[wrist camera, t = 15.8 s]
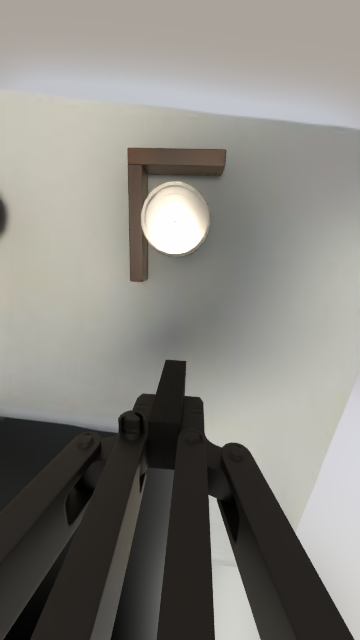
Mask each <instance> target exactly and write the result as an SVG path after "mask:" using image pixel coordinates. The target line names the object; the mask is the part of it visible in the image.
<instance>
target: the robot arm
mask: <svg viewBox="0 0 360 640" xmlns="http://www.w3.org/2000/svg"><path fill="white" fill-rule="evenodd" d="M185 377H186V361H177V360H166V361H165V365H164V368H163V371H162V375H161V378H160V382H159V385H158V389H157V392H156V395H155V394H142V395H140V396H139V397H138V398H137V400H136V403H135V405H134V408H133V410H132V411H127V412H125V413H123V414H121V415H120V417H119V418H118V422H119V434H118V435H116V436H114V437H109V438H103V439H101V437H100V436H99V434H97V433H96V432H84V433H82V434H79V435H78V436H76V437H75V438H74V439H73V440H72V441H71V442H70V443H69V444H68V445H67V446H66V447H65V448H64V449H63V450H62V451H61V452H60V453H59V454H58V455H57V456H56V457H55V458H54V459H53V460H52V461H51V462H50V463H49V464H48V465H47V466H46V467H45V468H44V469H43V470H42V471H41V472H40V473H39V474H38V475H37V476H36V477H35V478H34V479H33V480H32V481H31V482H30V483H29V484H28V485H27V486H26V487H25V488H24V489H23V490H22V491H21V492H20V493H19V494H18V495H17V496H16V497H15V498H14V499H13V500H12V501H11V502H10V503H9V504H8V505H7V506H6V507H5V508H4V509H3V510H2V511H1V512H0V640H3V639H4V637H5V636H6V634H7V633H8V631H9V630H10V628H11V627H12V625H13V624H14V622H15V621H16V619H17V618H18V616H19V615H20V613H21V612H22V610H23V609H24V607H25V606H26V604H27V603H28V601H29V600H30V598H31V597H32V595H33V593H34V592H35V591H36V589H37V587H38V586H39V584H40V583H41V581H42V580H43V578H44V577H45V575H46V574H47V572H48V571H49V569H50V568H51V566H52V565H53V563H54V562H55V560H56V559H57V557H58V556H59V554H60V553H61V551H62V550H63V548H64V547H65V545H66V544H67V542H68V541H69V539H70V538H71V536H72V534H73V533H74V531H75V530H76V528H77V527H78V525H79V524H80V525H79V527H78V530H77V532H76V534H75V537H74V539H73V541H72V544H71V546H70V548H69V551H68V553H67V555H66V558H65V560H64V562H63V565H62V567H61V569H60V572H59V574H58V576H57V579H56V581H55V583H54V586H53V588H52V590H51V593H50V595H49V597H48V600H47V602H46V604H45V607H44V609H43V611H42V614H41V616H40V618H39V621H38V623H37V625H36V628H35V630H34V633H33V635H32V637H31V639H30V640H110V639H111V634H112V629H113V625H114V620H115V616H116V611H117V607H118V602H119V598H120V593H121V588H122V584H123V580H124V575H125V571H126V566H127V562H128V557H129V553H130V548H131V544H132V539H133V535H134V530H135V525H136V521H137V517H138V512H139V508H140V503H141V499H142V494H143V490H144V485H145V481H146V468H147V464H148V467H150V468H162V469H172V470H175V471H174V480H173V490H172V499H171V509H170V518H169V528H168V538H167V547H166V556H165V566H164V575H163V585H162V594H161V604H160V613H159V623H158V633H157V640H215V633H214V609H213V588H212V565H211V542H210V520H209V498H208V495H210V496H213V497H215V498H217V502H218V506H219V509H220V512H221V515H222V518H223V521H224V525H225V528H226V531H227V534H228V537H229V540H230V544H231V547H232V550H233V553H234V556H235V559H236V563H237V566H238V569H239V572H240V575H241V579H242V582H243V585H244V588H245V591H246V594H247V598H248V600H249V604H250V607H251V610H252V613H253V617H254V620H255V623H256V626H257V629H258V632H259V635H260V639H261V640H354V639H353V636H352V635H351V633H350V631H349V629H348V628H347V626H346V624H345V622H344V620H343V619H342V617H341V615H340V613H339V611H338V609H337V608H336V606H335V604H334V602H333V601H332V599H331V597H330V595H329V593H328V591H327V590H326V588H325V586H324V584H323V583H322V581H321V579H320V577H319V575H318V574H317V572H316V570H315V568H314V566H313V565H312V563H311V561H310V559H309V557H308V556H307V554H306V552H305V550H304V548H303V547H302V545H301V543H300V541H299V539H298V538H297V536H296V534H295V532H294V530H293V528H292V527H291V525H290V523H289V521H288V519H287V518H286V516H285V514H284V512H283V510H282V509H281V507H280V505H279V503H278V501H277V500H276V498H275V496H274V494H273V492H272V491H271V489H270V487H269V485H268V483H267V482H266V480H265V478H264V476H263V474H262V473H261V471H260V469H259V467H258V465H257V464H256V462H255V460H254V458H253V456H252V455H251V453H250V451H249V450H248V449H247V448H246V447H244V446H243V445H241V444H238V443H228V444H226V445H224V446H223V447H219V446H216V445H214V444H212V443H211V442H210V441H209V440H208V439H207V438H206V436H205V433H204V410H203V402H202V400H201V399H200V397H191V396H185Z"/></svg>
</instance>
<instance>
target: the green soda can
mask: <svg viewBox="0 0 360 640" xmlns="http://www.w3.org/2000/svg"><path fill="white" fill-rule="evenodd" d="M210 218H211V215H210V211H209V207H208V204H207V202H206V200H205V198H204V197H203V195H202V194H201V193H200V192H199V191H198V190H197V189H195V188H194V187H193V186H191V185H189V184H186V183H183V182H179V181H169V182H167V183H164V184H161V185H159V186H158V187H156V188H155V189H154V190H152V191H151V192H150V194H149V195H148V197H147V198H146V200H145V201H144V205H143V208H142V212H141V226H142V230H143V233H144V236H145V238H146V239H147V241H148V242H149V244H150V245H151V246H152V247H153V248H154V249H155V250H157V251H158V252H159V253H162V254H164V255H167V256H172V257H181V256H186V255H189V254H192V253H193V252H195V251H196V250H197V249H198V248H199V247H200V246H201V244H202V243H203V242H204V240H205V239H206V237H207V234H208V231H209V229H210Z"/></svg>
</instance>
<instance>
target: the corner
mask: <svg viewBox="0 0 360 640" xmlns="http://www.w3.org/2000/svg"><path fill="white" fill-rule="evenodd" d="M225 161H226V150H222V149H168V148H128V194H129V241H130V281H137V282H143V281H145V280H147V279H148V241H147V239H146V238H145V236H144V233H143V230H142V226H141V212H142V208H143V205H144V201H145V200H146V198H147V174H175V175H218V176H221V175H222V173H223V170H224V168H225Z"/></svg>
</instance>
